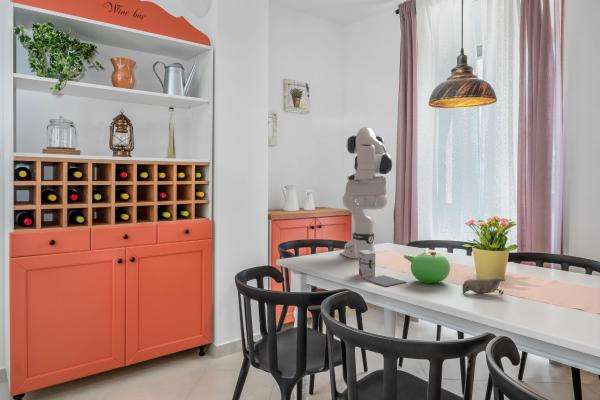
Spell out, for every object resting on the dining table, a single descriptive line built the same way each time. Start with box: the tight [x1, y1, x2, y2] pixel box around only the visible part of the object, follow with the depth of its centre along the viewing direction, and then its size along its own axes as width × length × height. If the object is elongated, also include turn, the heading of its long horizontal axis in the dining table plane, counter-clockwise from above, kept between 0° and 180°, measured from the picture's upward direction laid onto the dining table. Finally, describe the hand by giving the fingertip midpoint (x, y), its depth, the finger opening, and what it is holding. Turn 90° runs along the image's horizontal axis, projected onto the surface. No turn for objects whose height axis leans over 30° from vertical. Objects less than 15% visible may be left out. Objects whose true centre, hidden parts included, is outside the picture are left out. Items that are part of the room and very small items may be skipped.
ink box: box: [358, 250, 376, 279], centre depth 204 cm, size 8×5×12 cm, turn 17°
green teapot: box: [403, 248, 451, 284], centre depth 193 cm, size 18×17×15 cm
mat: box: [363, 275, 407, 288], centre depth 194 cm, size 14×13×1 cm
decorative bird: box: [462, 277, 505, 296], centre depth 175 cm, size 5×16×8 cm, turn 81°
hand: (365, 205), depth 202 cm, fingers open, 8 cm apart
